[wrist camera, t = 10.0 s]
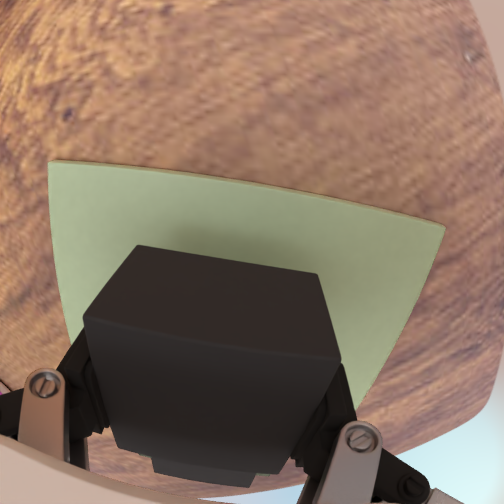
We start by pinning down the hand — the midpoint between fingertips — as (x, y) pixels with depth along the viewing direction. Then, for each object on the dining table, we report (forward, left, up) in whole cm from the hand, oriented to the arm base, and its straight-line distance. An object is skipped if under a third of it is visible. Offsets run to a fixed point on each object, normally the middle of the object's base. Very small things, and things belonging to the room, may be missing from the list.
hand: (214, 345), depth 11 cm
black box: (0, 0, -1) cm, 1 cm away
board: (0, +4, -4) cm, 6 cm away
